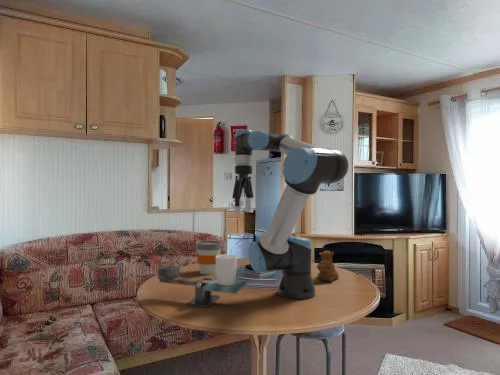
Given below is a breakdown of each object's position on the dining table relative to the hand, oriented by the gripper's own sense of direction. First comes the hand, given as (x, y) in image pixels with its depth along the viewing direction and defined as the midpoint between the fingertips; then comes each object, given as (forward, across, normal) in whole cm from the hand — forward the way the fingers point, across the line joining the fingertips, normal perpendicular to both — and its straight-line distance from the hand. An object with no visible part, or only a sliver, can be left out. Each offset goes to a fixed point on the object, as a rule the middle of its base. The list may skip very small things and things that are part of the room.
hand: (243, 213), depth 158 cm
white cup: (+24, +27, +3) cm, 36 cm away
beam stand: (+32, +27, -6) cm, 42 cm away
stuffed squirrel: (+32, -22, +34) cm, 52 cm away
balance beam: (+25, +27, -7) cm, 38 cm away
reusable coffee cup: (+32, -16, -24) cm, 43 cm away
